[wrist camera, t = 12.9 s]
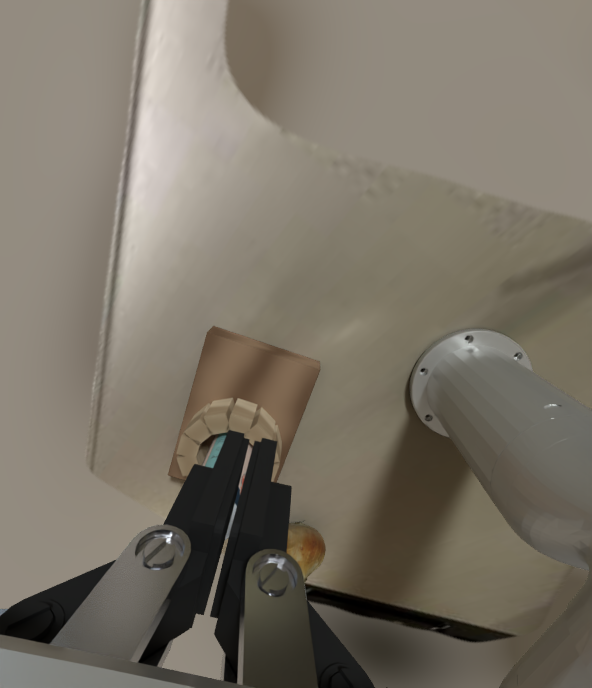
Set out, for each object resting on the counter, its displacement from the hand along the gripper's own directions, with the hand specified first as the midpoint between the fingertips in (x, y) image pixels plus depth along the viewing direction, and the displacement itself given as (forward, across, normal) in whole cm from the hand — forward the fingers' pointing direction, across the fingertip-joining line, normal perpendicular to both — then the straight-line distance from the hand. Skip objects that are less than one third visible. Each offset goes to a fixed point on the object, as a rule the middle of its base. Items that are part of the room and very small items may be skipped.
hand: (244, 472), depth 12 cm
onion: (+27, -8, +28) cm, 40 cm away
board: (+27, +2, +14) cm, 30 cm away
